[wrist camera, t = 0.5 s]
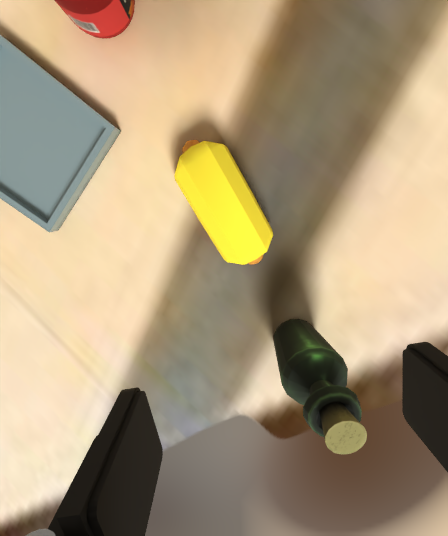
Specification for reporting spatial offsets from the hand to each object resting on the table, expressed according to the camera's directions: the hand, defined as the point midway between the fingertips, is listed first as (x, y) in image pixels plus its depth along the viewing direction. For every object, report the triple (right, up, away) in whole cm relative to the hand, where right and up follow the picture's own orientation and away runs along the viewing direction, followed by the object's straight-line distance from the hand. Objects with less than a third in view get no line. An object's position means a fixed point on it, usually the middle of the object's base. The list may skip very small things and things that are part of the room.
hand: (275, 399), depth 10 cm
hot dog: (-2, +13, +27) cm, 30 cm away
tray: (-26, +21, +25) cm, 41 cm away
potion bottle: (+9, -6, +32) cm, 34 cm away
